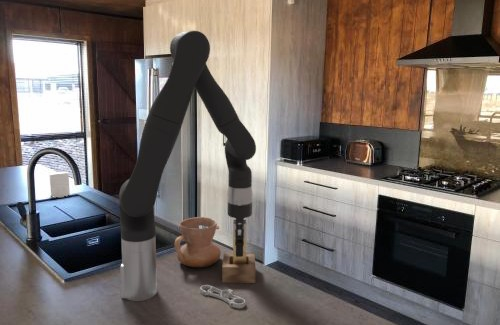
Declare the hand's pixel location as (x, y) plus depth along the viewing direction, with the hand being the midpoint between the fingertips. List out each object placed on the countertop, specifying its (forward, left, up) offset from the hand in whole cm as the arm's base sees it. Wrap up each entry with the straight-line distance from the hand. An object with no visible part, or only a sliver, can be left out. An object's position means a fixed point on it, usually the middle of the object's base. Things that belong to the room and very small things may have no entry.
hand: (239, 252), depth 128 cm
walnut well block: (0, 0, -7) cm, 7 cm away
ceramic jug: (-14, +9, -8) cm, 18 cm away
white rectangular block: (-96, +91, -8) cm, 133 cm away
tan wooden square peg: (0, 0, -5) cm, 5 cm away
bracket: (-5, -14, -8) cm, 17 cm away
